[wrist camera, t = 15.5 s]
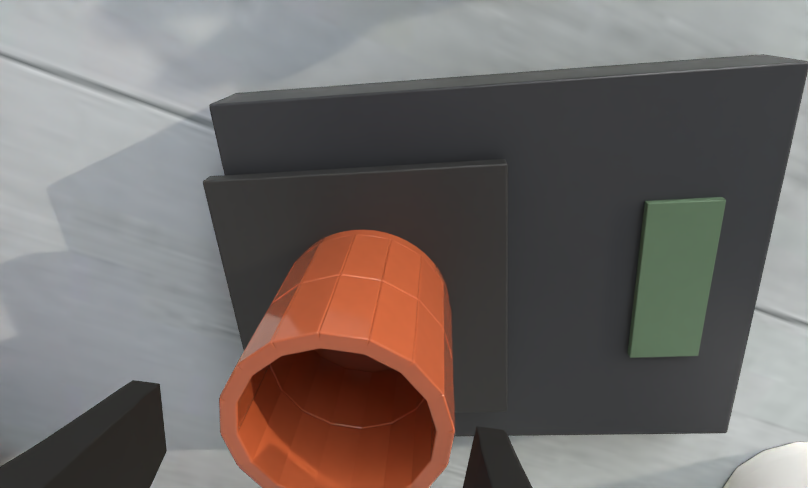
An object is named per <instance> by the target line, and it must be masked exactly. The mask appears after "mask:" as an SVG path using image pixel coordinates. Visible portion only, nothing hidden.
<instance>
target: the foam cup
mask: <svg viewBox="0 0 808 488" xmlns="http://www.w3.org/2000/svg"><path fill="white" fill-rule="evenodd" d="M723 488H808V443H806V442H795V443H791V444H787V445H784V446H780V447H776V448H772V449H768V450H765V451H762V452H761V453H759V454H758V455H756V456H754V457H753V458H751V459H750V460H748V461H747V462H745V463H743V464H742V465H740V466H739V467H737V468H736V470H735V471H734V473H733V474H732V476H731V477H730V479H729V480H728V481H727V483H726V484H725V486H724V487H723Z"/></svg>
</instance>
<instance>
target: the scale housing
mask: <svg viewBox="0 0 808 488" xmlns="http://www.w3.org/2000/svg"><path fill="white" fill-rule="evenodd" d="M807 72H808V62H807V61H803V60H796V59H790V58H783V57H777V56H770V55H764V54H763V55H749V56H736V57H722V58H708V59H695V60H681V61H668V62H654V63H641V64H627V65H613V66H600V67H586V68H573V69H559V70H545V71H532V72H518V73H505V74H491V75H477V76H464V77H450V78H437V79H423V80H409V81H396V82H382V83H369V84H355V85H342V86H328V87H314V88H301V89H287V90H274V91H260V92H246V93H236V94H233V95H231V96H229V97H226V98H224V99H222V100H219V101H217V102H215V103H212V104H210V112H211V116H212V121H213V125H214V129H215V134H216V138H217V143H218V147H219V152H220V156H221V161H222V165H223V169H224V174H225V175H241V174H258V173H275V172H292V171H309V170H326V169H342V168H359V167H376V166H393V165H410V164H427V163H444V162H461V161H478V160H495V159H505V160H506V163H507V165H508V225H507V411H506V412H454V415H455V435H454V436H474V435H475V431H476V426H480V427H487V428H495V429H502V430H504V431H505V432H506V433H507V435H508V436H521V435H605V434H690V433H726V432H727V430H728V425H729V421H730V416H731V412H732V407H733V403H734V398H735V394H736V389H737V385H738V380H739V376H740V371H741V367H742V363H743V358H744V354H745V349H746V345H747V340H748V336H749V331H750V327H751V322H752V318H753V313H754V309H755V304H756V300H757V295H758V291H759V286H760V282H761V278H762V273H763V269H764V264H765V260H766V255H767V251H768V246H769V242H770V237H771V233H772V228H773V224H774V219H775V215H776V210H777V206H778V201H779V197H780V193H781V188H782V184H783V179H784V175H785V170H786V166H787V161H788V157H789V152H790V148H791V143H792V139H793V134H794V130H795V125H796V121H797V116H798V112H799V108H800V103H801V99H802V94H803V90H804V85H805V81H806V76H807Z"/></svg>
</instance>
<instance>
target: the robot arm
mask: <svg viewBox="0 0 808 488" xmlns="http://www.w3.org/2000/svg"><path fill="white" fill-rule="evenodd" d="M165 453H166V441H165V432H164V422H163V412H162V402H161V393H160V384H157V383H149V382H142V381H134V380H133V381H131V382H130V383H128V384H127V385H125V386H124V387H122V388H121V389H119V390H118V391H116V392H115V393H113V394H112V395H110V396H109V397H107V398H106V399H104V400H103V401H101V402H100V403H98V404H97V405H96V406H94V407H93V408H91V409H90V410H88V411H87V412H85V413H84V414H82V415H81V416H79V417H78V418H76V419H75V420H73V421H72V422H70V423H69V424H67V425H66V426H64V427H63V428H61V429H60V430H58V431H57V432H55V433H54V434H52V435H51V436H49V437H48V438H46V439H45V440H43V441H42V442H40V443H39V444H37V445H35V446H34V447H32V448H31V449H29V450H27V451H26V452H24V453H22V454H21V455H19V456H17V457H16V458H14V459H13V460H11V461H9V462H8V463H6V464H4V465H3V466H1V467H0V488H150V486H151V484H152V482H153V480H154V478H155V476H156V473H157V471H158V469H159V467H160V464H161V462H162V460H163V458H164V456H165ZM463 488H532V486H531V484H530V482H529V480H528V478H527V476H526V474H525V472H524V470H523V468H522V466H521V464H520V461H519V459H518V457H517V455H516V453H515V451H514V448H513V446H512V444H511V442H510V439H509V437H508V435H507V433H506V432H505V431H504V430H502V429H495V428H487V427H480V426H476V431H475V435H474V440H473V444H472V449H471V453H470V458H469V462H468V467H467V471H466V476H465V480H464V485H463Z"/></svg>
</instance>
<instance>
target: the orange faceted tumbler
mask: <svg viewBox="0 0 808 488" xmlns="http://www.w3.org/2000/svg"><path fill="white" fill-rule="evenodd" d="M219 408H220V433H221V436H222V438H223V440H224V442H225V443H226V445H227V447H228V449H229V451H230V453H231V455H232V456H233V458H234V460H235V462H236V464H237V465H238V466H239V468H240V469H241V470H242V471H244V472H245V473H246V474H247V475H248V476H249V477H250V478H252V479H253V480H254V481H255V482H256V483H257V484H259V485H260V486H261V487H262V488H429V487H430V486H431V485H432V483H433V482H434V481H435V480H436V479H437V478H438V476H439V475H440V474H441V473H442V472H443V470H444V469H445V468H446V467H447V465H448V463H449V458H450V453H451V449H452V444H453V439H454V435H455V415H454V384H453V352H452V321H451V307H450V304H449V295H448V290H447V287H446V284H445V281H444V279H443V277H442V275H441V273H440V271H439V270H438V268H437V267H436V265H435V264H434V263H433V261H432V260H431V259H430V258H429V257H428V256H427V255H426V254H425V253H424V252H422V251H421V250H420V249H419V248H417V247H416V246H414V245H413V244H411V243H410V242H408V241H406V240H404V239H402V238H400V237H397V236H395V235H392V234H389V233H385V232H380V231H375V230H350V231H344V232H339V233H336V234H333V235H330V236H327V237H325V238H323V239H321V240H319V241H318V242H316V243H314V244H313V245H311V246H310V247H309V248H308V249H307V250H305V251H304V252H303V253H302V255H301V256H300V257H299V258H298V259H297V260H296V262H295V263H294V264H293V266H292V268H291V270H290V271H289V273H288V275H287V277H286V278H285V280H284V282H283V284H282V285H281V287H280V289H279V291H278V293H277V294H276V296H275V298H274V300H273V301H272V303H271V305H270V307H269V308H268V310H267V312H266V314H265V315H264V317H263V319H262V321H261V322H260V324H259V326H258V328H257V329H256V331H255V333H254V335H253V336H252V338H251V340H250V342H249V343H248V345H247V347H246V349H245V350H244V352H243V354H242V356H241V357H240V359H239V361H238V363H237V364H236V366H235V368H234V370H233V372H232V374H231V376H230V378H229V379H228V381H227V383H226V385H225V387H224V389H223V391H222V393H221V394H220V398H219Z"/></svg>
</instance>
